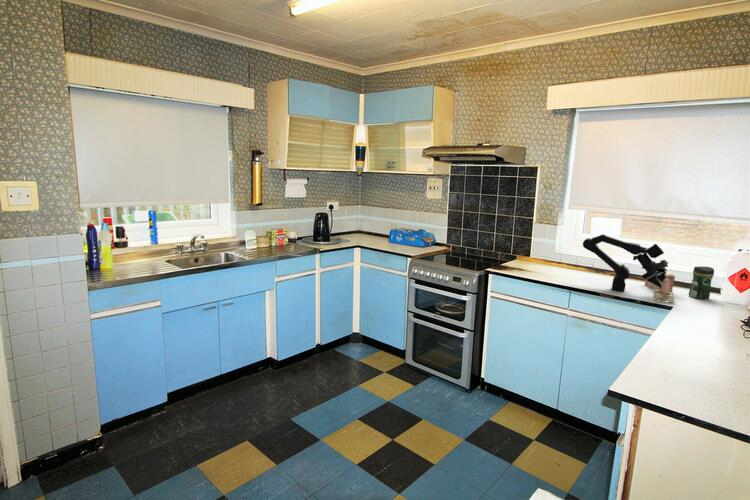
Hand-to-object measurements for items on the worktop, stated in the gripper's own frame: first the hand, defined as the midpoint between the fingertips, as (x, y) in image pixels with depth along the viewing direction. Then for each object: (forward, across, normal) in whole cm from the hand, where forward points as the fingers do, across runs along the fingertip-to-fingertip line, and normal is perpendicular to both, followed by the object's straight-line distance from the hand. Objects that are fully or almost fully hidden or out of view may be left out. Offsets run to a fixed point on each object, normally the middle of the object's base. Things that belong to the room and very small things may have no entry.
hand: (664, 286), depth 241 cm
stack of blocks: (-1, +20, +13) cm, 23 cm away
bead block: (+6, 0, +5) cm, 8 cm away
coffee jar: (+13, +24, -1) cm, 28 cm away
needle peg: (+6, 0, +5) cm, 8 cm away
